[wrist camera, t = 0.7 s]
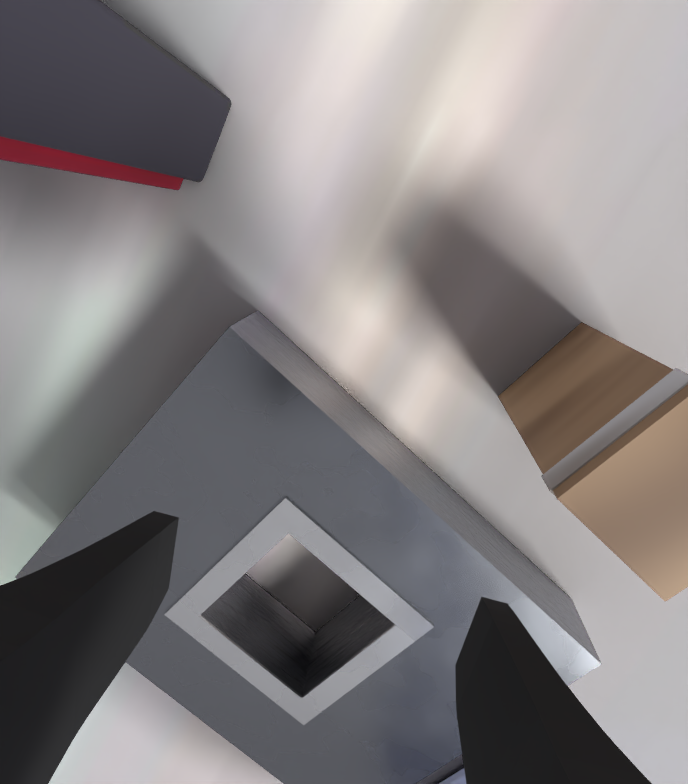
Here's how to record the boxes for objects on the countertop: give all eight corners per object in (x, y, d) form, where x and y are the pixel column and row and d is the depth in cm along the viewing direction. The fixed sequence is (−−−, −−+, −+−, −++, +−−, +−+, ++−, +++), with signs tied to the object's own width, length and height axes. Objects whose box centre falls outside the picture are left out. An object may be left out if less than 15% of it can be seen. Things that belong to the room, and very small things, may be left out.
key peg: (655, 395, 19) (818, 503, 12) (567, 465, 21) (664, 604, 13) (581, 320, 19) (703, 381, 11) (496, 396, 20) (554, 498, 12)
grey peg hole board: (571, 599, 22) (602, 666, 19) (351, 753, 26) (343, 832, 23) (258, 310, 20) (228, 327, 17) (68, 528, 24) (13, 578, 21)
